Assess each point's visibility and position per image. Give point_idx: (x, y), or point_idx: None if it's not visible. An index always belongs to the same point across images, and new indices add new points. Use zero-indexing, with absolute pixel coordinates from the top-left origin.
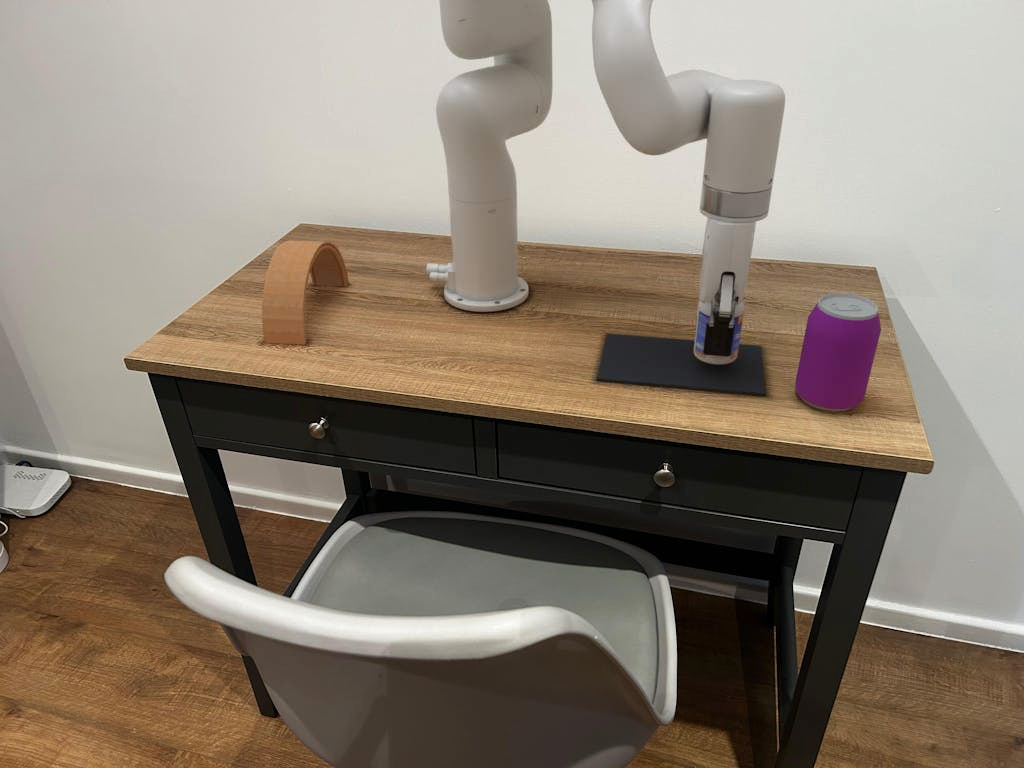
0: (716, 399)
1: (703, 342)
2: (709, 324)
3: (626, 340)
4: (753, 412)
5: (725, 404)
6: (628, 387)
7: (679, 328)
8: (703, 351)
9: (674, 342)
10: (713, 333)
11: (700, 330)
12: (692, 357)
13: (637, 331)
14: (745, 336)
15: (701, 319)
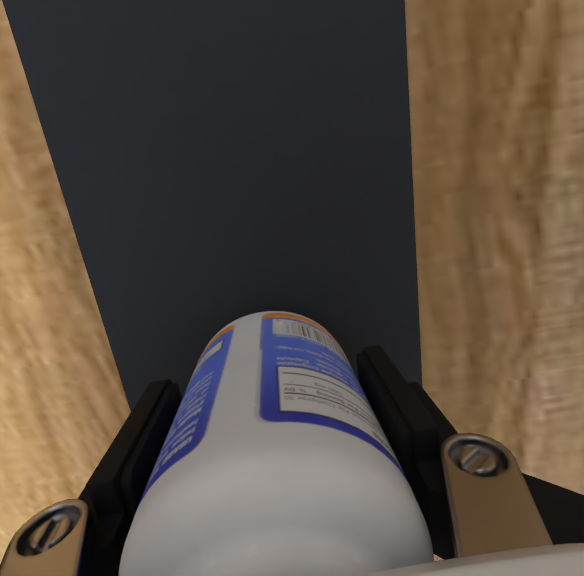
0: (88, 391)
1: (189, 385)
2: (18, 532)
3: (354, 16)
4: (68, 480)
5: (73, 416)
6: (19, 111)
7: (512, 208)
8: (149, 384)
9: (385, 215)
10: (83, 495)
11: (192, 394)
12: (293, 292)
13: (463, 49)
14: (488, 408)
15: (178, 434)
